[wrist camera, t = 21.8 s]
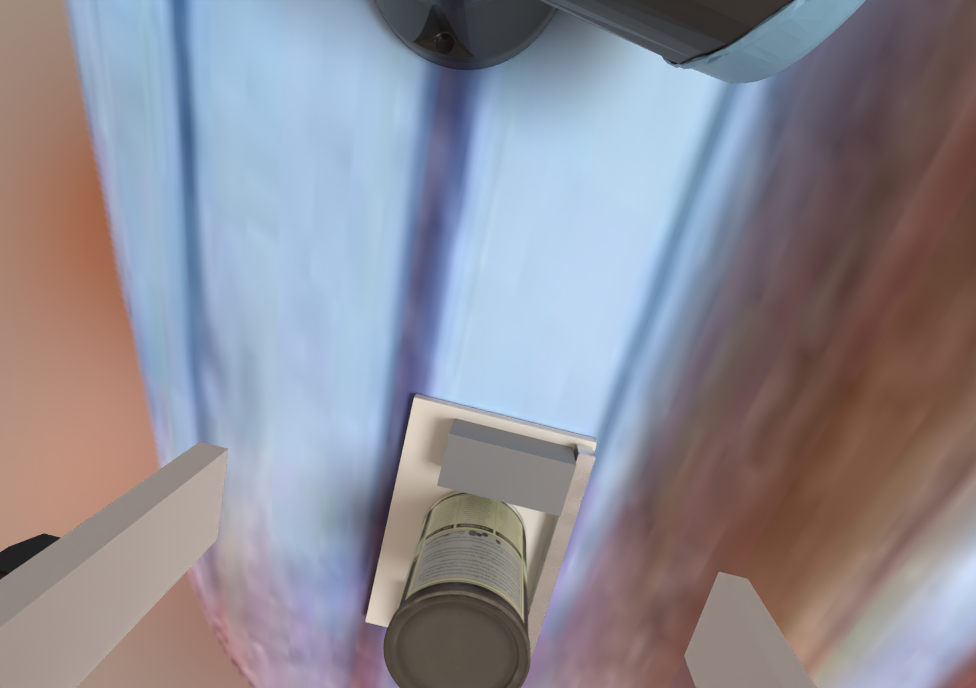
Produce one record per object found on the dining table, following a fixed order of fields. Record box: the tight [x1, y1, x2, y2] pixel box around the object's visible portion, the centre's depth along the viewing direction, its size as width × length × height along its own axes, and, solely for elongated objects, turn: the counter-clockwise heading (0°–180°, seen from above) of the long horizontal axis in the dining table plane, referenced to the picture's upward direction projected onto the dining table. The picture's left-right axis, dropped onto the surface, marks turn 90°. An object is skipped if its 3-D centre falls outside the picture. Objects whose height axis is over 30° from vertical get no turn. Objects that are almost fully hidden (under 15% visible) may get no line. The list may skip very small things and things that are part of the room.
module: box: [437, 418, 576, 516], centre depth 45 cm, size 11×5×4 cm, turn 76°
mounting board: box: [365, 394, 597, 627], centre depth 50 cm, size 17×25×1 cm
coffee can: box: [384, 491, 531, 688], centre depth 42 cm, size 10×10×14 cm
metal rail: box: [528, 443, 596, 658], centre depth 48 cm, size 2×24×2 cm, turn 166°
